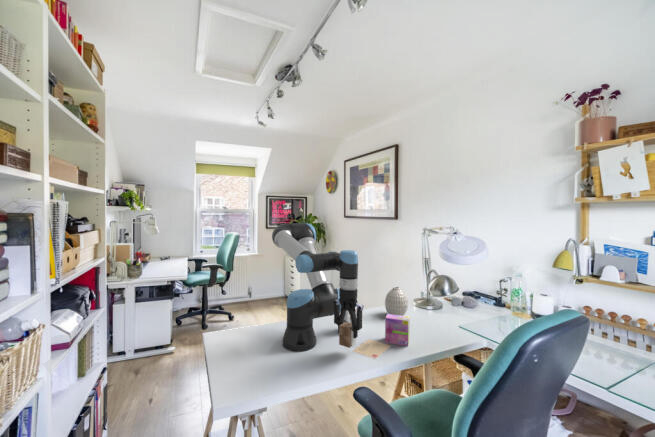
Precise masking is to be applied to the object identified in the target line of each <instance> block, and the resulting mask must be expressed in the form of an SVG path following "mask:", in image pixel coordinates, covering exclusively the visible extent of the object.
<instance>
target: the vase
mask: <svg viewBox="0 0 655 437" xmlns="http://www.w3.org/2000/svg"><path fill="white" fill-rule="evenodd" d="M384 307H385V311H386V312H387V314H392V315H400V316H405V314H406V313H407V311H408V307H409V301H408V298H407V295H406V294H405V292H404V291H403V289H401V287H400V286H393V288H392V289H390V290H389V291H388V293H386V296H385V299H384Z"/></svg>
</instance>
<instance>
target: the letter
mask: <svg viewBox="0 0 655 437" xmlns="http://www.w3.org/2000/svg"><path fill="white" fill-rule="evenodd" d="M390 347H391V345H389V344H388V343H385V342H384V343H383V342H380V341H377V340H374V339H370V338H368V339H367V340H366V341H365V342H362V344H360V345H359V346H357V347H356V348H355V349H353V350H352V352H354V353H357V354H360V355H363V356H366V357H368V358H370V359H371V358H372V359H373V360H376V359H377V358H379V357H380V356H382V354H384V352H386V351H387V350H388V349H389V348H390Z"/></svg>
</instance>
